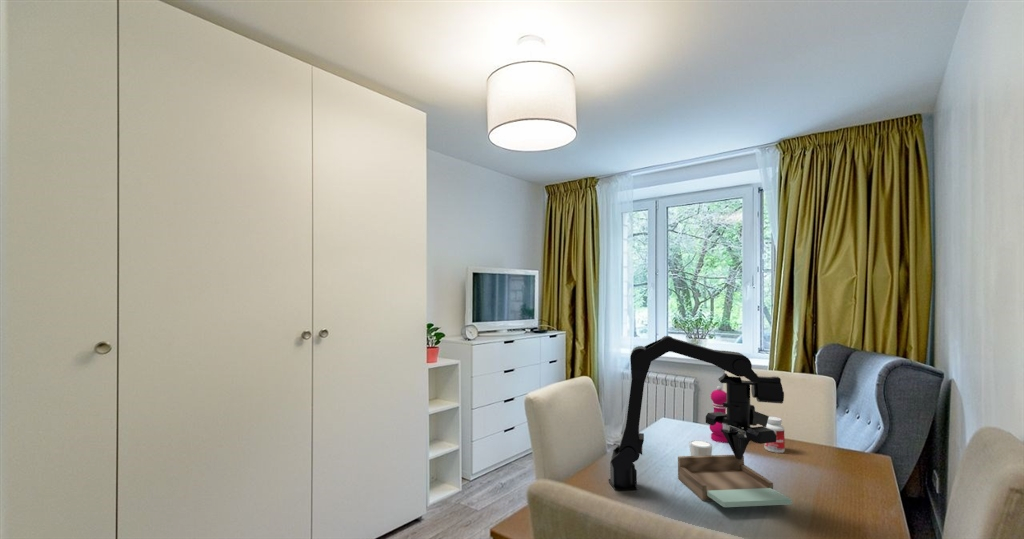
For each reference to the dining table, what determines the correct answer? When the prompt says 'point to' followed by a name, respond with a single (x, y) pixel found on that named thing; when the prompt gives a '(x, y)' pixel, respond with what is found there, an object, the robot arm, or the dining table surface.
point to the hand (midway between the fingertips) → (738, 459)
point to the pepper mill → (718, 400)
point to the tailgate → (748, 497)
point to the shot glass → (700, 448)
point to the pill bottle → (776, 426)
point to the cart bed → (718, 474)
